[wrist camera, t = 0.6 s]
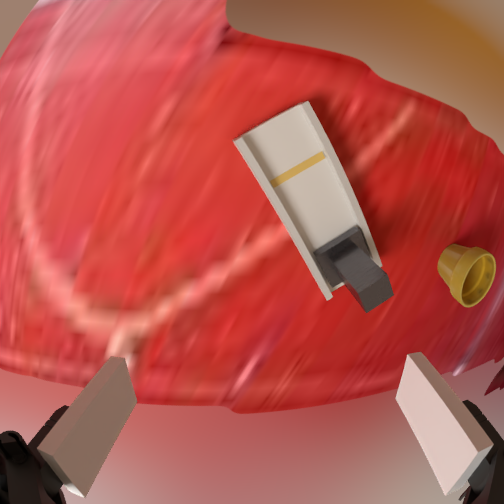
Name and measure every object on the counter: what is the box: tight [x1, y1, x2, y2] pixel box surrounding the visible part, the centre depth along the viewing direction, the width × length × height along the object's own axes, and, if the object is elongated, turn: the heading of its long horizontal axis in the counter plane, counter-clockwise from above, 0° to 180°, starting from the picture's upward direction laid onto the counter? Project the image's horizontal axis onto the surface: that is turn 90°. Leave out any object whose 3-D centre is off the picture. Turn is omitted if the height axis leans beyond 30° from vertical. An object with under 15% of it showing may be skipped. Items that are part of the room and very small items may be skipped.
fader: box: [313, 227, 394, 313], centre depth 36 cm, size 6×7×10 cm
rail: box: [232, 101, 382, 300], centre depth 38 cm, size 26×10×3 cm, turn 31°
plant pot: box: [438, 244, 496, 307], centre depth 42 cm, size 10×10×10 cm
